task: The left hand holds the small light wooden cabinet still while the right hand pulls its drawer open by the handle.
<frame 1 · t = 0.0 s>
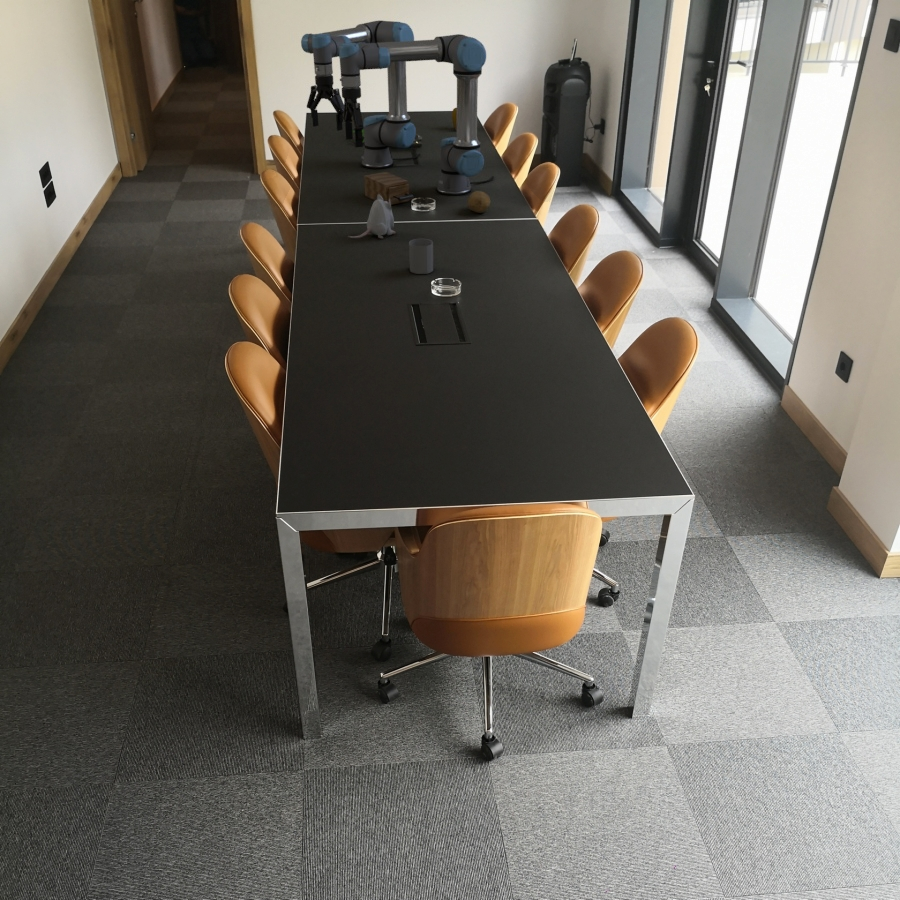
left hand: (327, 128, 372), 28 cm above the table, tool pointing down, fingers open, 13 cm apart
right hand: (354, 143, 350), 28 cm above the table, tool pointing down, fingers open, 13 cm apart
potato: (478, 212, 365), on the table
toy: (371, 238, 336), on the table
green leafy plant: (376, 142, 467), on the table
drawer: (392, 191, 375), point 4 cm above the table, slide at 0.6 cm
cup: (421, 270, 308), on the table
cabinet: (386, 198, 381), on the table
apple: (461, 130, 491), on the table
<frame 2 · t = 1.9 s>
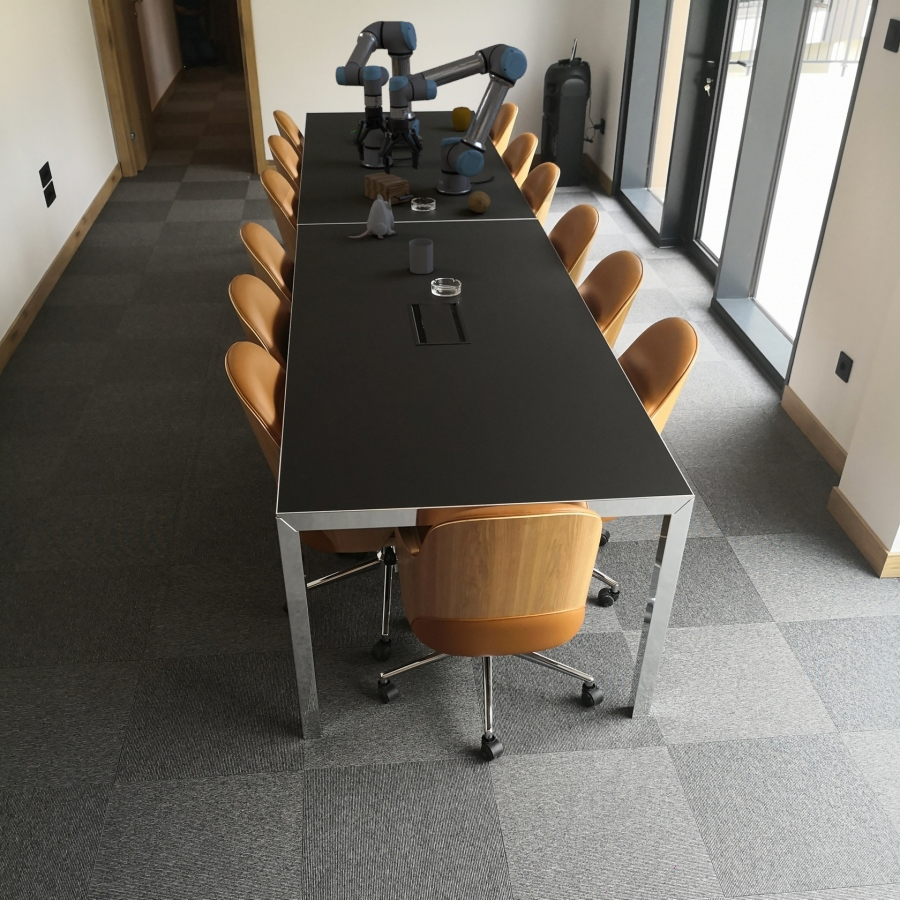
left hand: (375, 158, 375), 16 cm above the table, tool pointing down, fingers open, 13 cm apart
right hand: (401, 171, 363), 15 cm above the table, tool pointing down, fingers open, 13 cm apart
nothing on the table moved.
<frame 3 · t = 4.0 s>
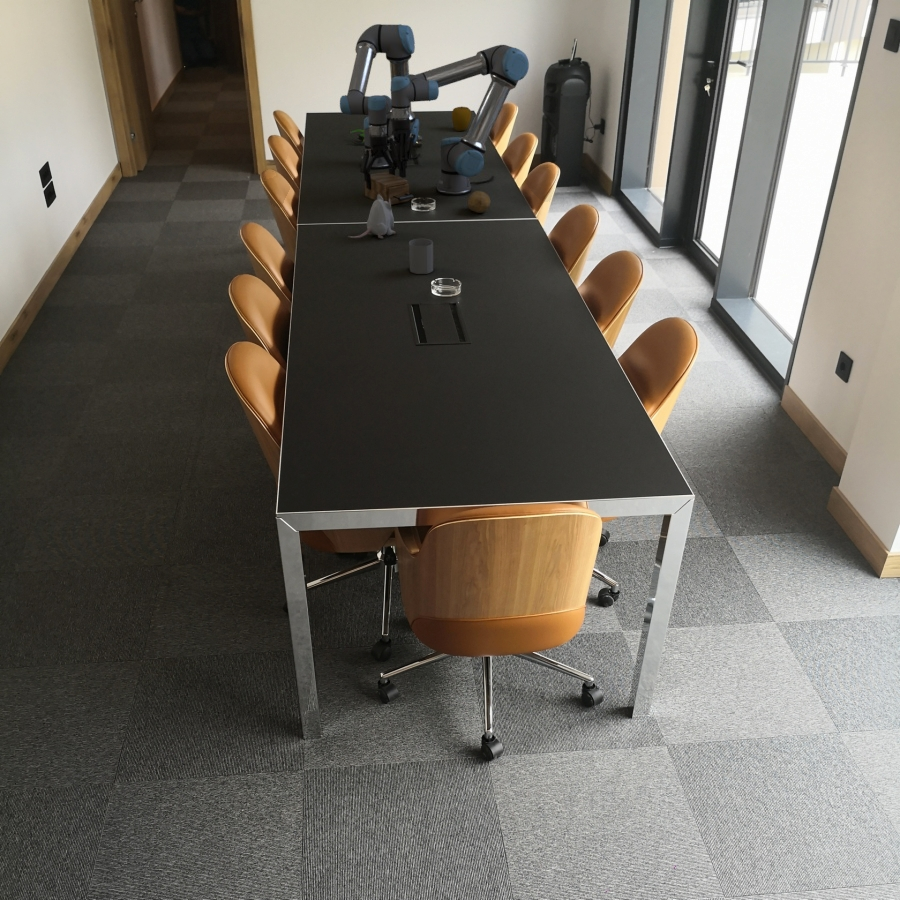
left hand: (380, 186, 382), 4 cm above the table, tool pointing down, fingers closed on cabinet, 11 cm apart
right hand: (402, 176, 365), 12 cm above the table, tool pointing down, fingers closed
cabinet: (386, 198, 381), on the table, touching left hand
everything else where it was.
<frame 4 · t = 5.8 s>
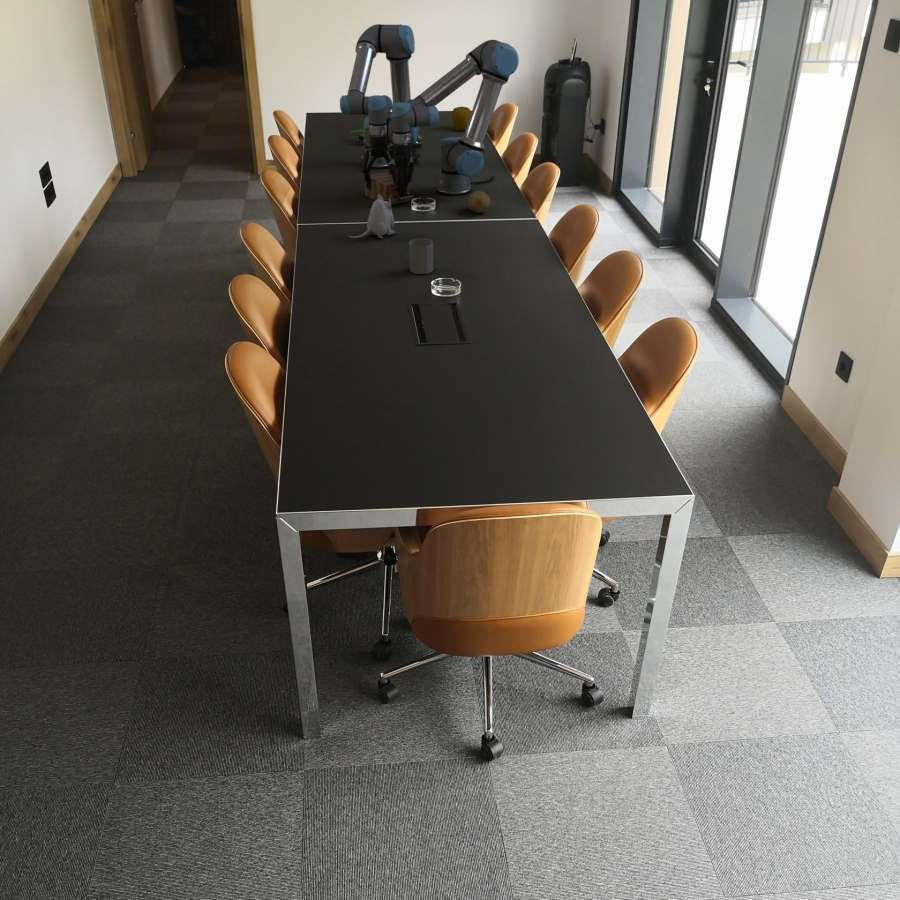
left hand: (380, 186, 382), 4 cm above the table, tool pointing down, fingers closed on cabinet, 11 cm apart
right hand: (402, 200, 370), 3 cm above the table, tool pointing down, fingers closed
drawer: (393, 191, 375), point 4 cm above the table, slide at 0.7 cm, touching right hand
cabinet: (386, 198, 381), on the table, touching left hand
everything else where it was.
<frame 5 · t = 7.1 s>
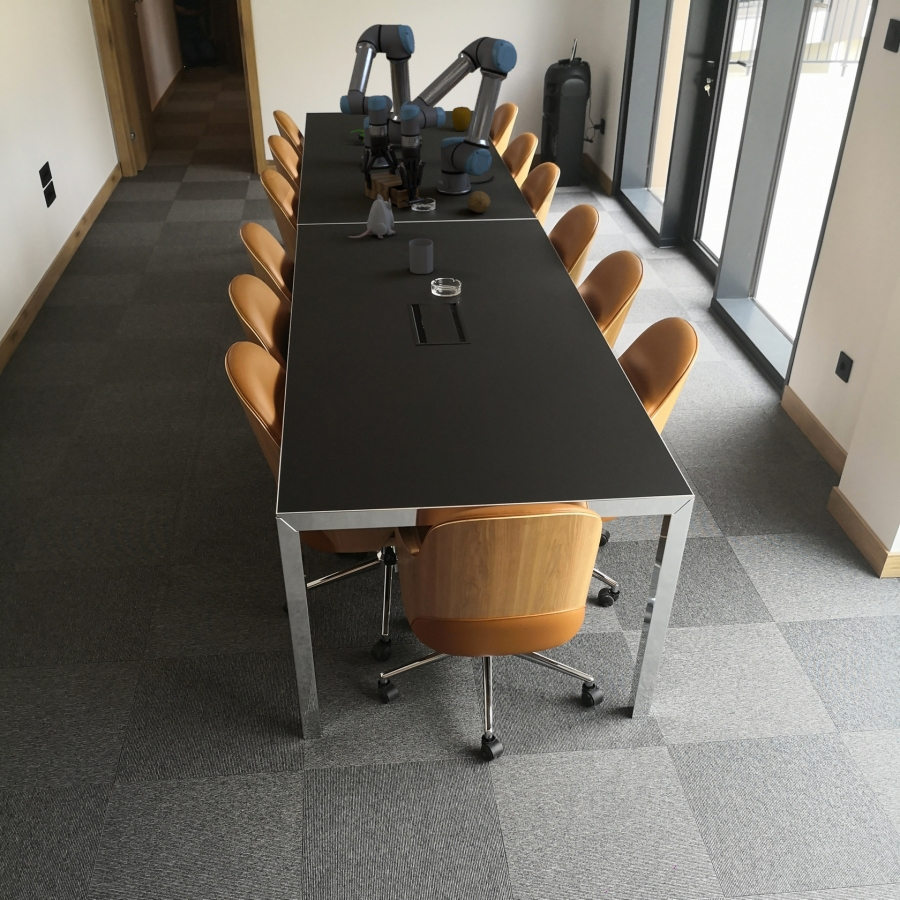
left hand: (380, 186, 382), 4 cm above the table, tool pointing down, fingers closed on cabinet, 11 cm apart
right hand: (412, 203, 366), 3 cm above the table, tool pointing down, fingers closed
drawer: (401, 195, 370), point 4 cm above the table, slide at 7.4 cm, touching right hand
cabinet: (387, 198, 381), on the table, touching left hand
everything else where it was.
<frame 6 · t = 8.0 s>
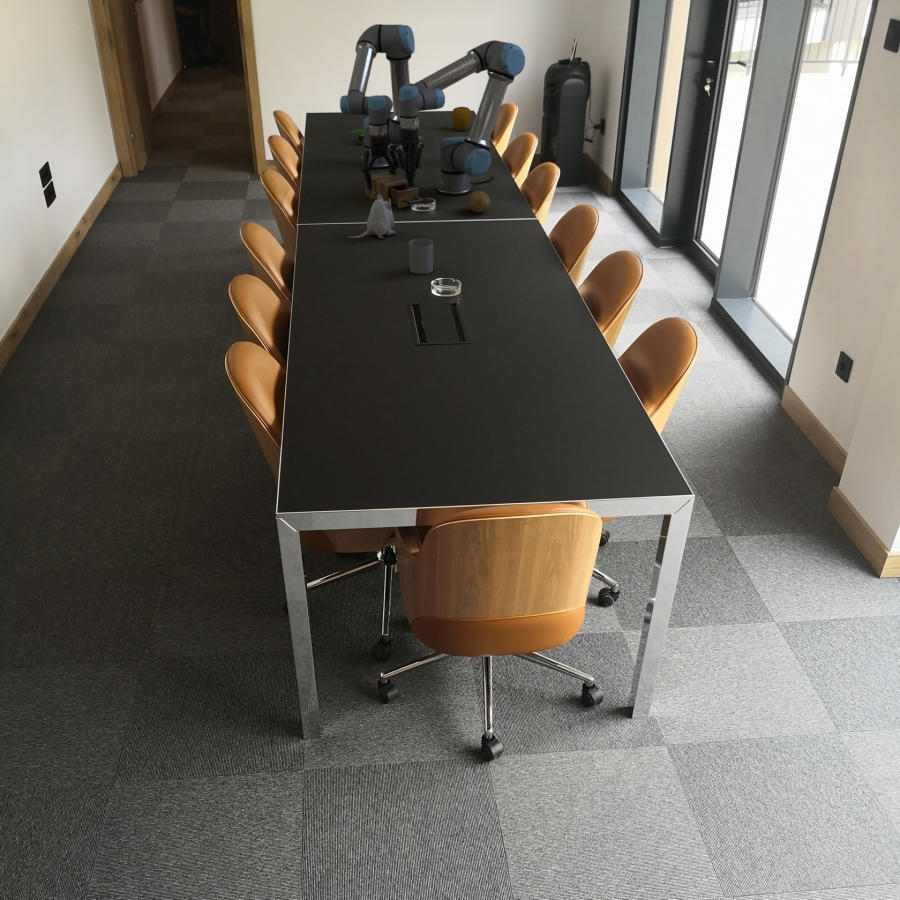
left hand: (380, 186, 382), 4 cm above the table, tool pointing down, fingers closed on cabinet, 11 cm apart
right hand: (410, 186, 362), 10 cm above the table, tool pointing down, fingers closed
drawer: (401, 195, 370), point 4 cm above the table, slide at 7.4 cm
cabinet: (387, 198, 381), on the table, touching left hand
everything else where it was.
when the left hand's fingers open (4 cm above the table, at t = 8.5 s): cabinet stays where it is, on the table.
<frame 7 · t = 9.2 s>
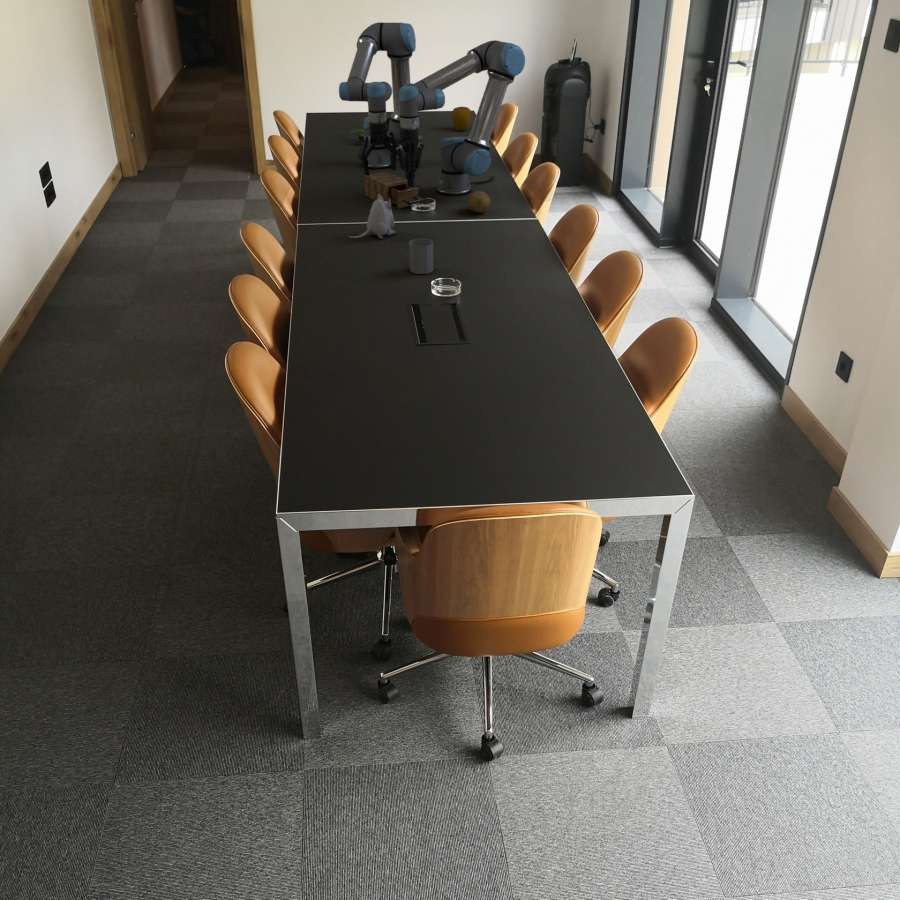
left hand: (380, 172, 379), 10 cm above the table, tool pointing down, fingers open, 13 cm apart
right hand: (410, 186, 362), 10 cm above the table, tool pointing down, fingers closed
cabinet: (387, 198, 381), on the table
everything else where it was.
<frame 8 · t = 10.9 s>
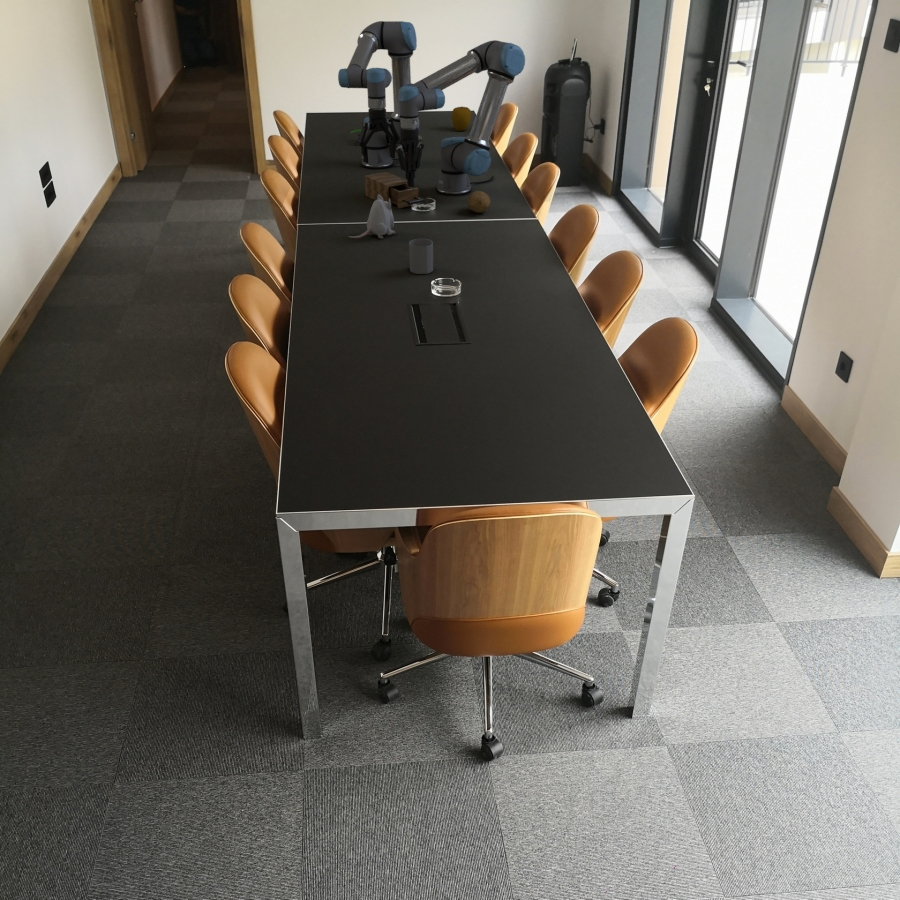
left hand: (379, 160, 376), 16 cm above the table, tool pointing down, fingers open, 13 cm apart
right hand: (410, 186, 362), 10 cm above the table, tool pointing down, fingers closed
nothing on the table moved.
at the end: drawer slide at 7.4 cm; cabinet tilted 0°; cabinet never tilted more than 1° during the clip; cabinet moved 0.2 cm from its start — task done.
